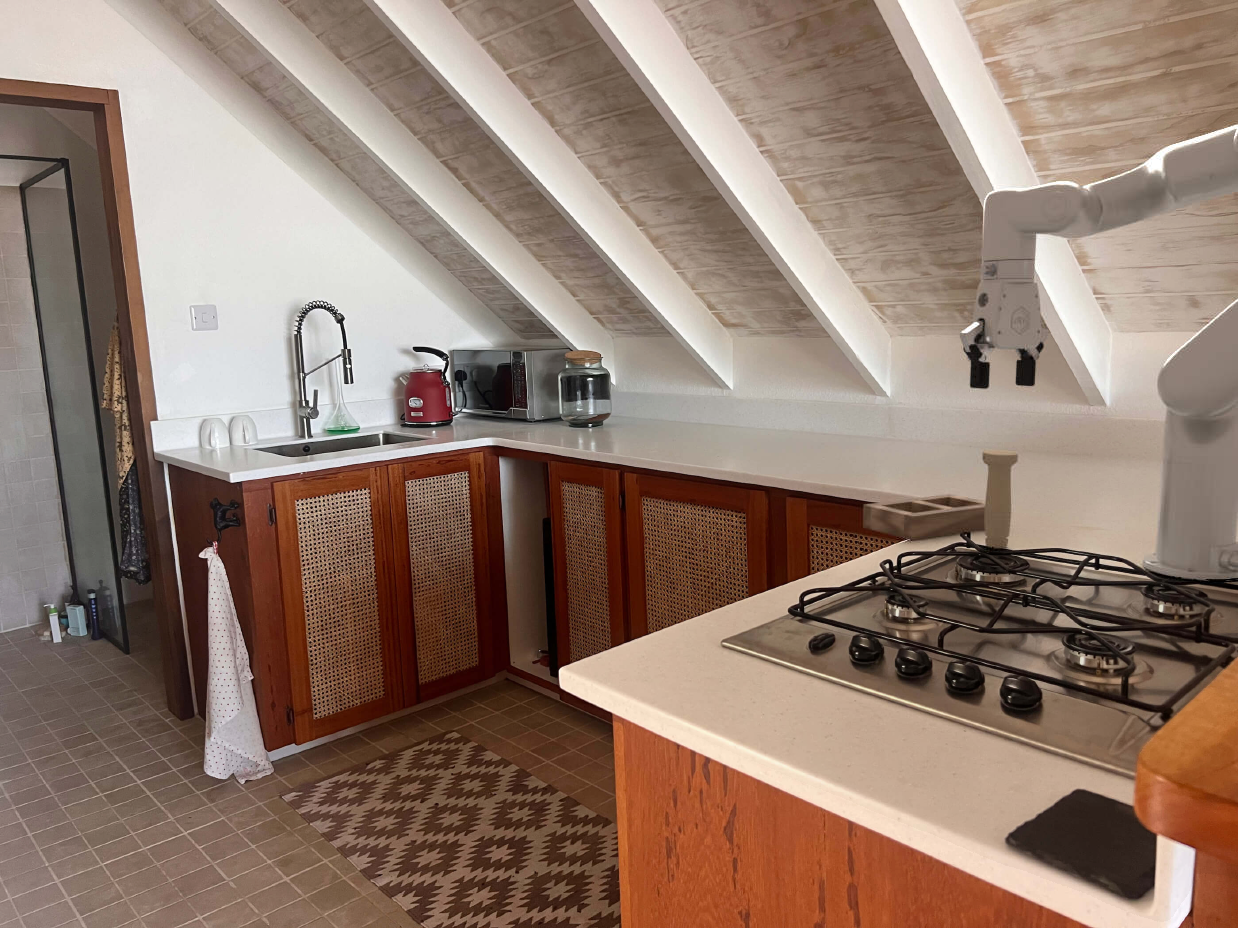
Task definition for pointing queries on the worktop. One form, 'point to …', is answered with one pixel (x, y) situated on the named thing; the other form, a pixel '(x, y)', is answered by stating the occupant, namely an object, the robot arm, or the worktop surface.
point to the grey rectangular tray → (925, 516)
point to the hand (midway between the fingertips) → (1002, 387)
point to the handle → (998, 496)
